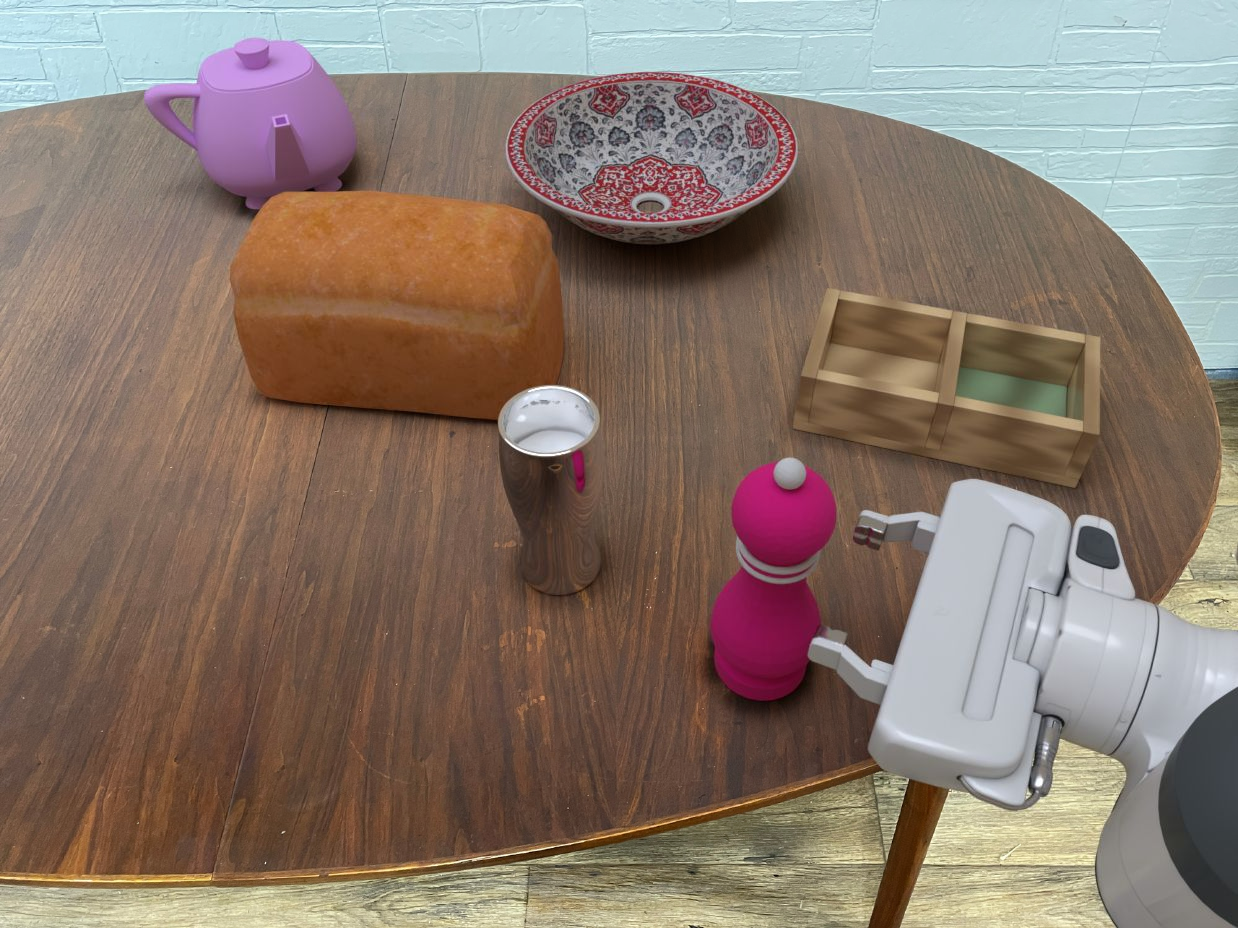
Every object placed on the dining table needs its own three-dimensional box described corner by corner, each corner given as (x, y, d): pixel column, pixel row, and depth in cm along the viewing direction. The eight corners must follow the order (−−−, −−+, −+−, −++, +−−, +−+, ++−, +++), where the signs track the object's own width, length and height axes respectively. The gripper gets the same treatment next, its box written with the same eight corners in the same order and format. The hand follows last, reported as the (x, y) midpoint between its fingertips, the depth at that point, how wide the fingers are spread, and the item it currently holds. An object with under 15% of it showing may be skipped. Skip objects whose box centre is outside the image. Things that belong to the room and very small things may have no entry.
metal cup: (619, 538, 79) (617, 394, 68) (589, 611, 75) (582, 468, 64) (533, 518, 81) (518, 373, 70) (499, 587, 76) (477, 444, 65)
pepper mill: (806, 618, 74) (849, 417, 59) (818, 709, 69) (867, 513, 54) (705, 617, 74) (722, 416, 59) (709, 707, 69) (728, 512, 55)
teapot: (197, 261, 104) (145, 122, 93) (170, 164, 117) (122, 32, 106) (388, 214, 109) (361, 78, 98) (343, 127, 122) (315, -3, 111)
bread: (544, 433, 87) (530, 280, 75) (245, 405, 90) (188, 252, 78) (572, 329, 96) (564, 178, 85) (301, 305, 99) (257, 156, 87)
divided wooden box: (1078, 390, 90) (1100, 336, 85) (1075, 488, 82) (1100, 434, 78) (818, 340, 95) (826, 287, 90) (792, 428, 87) (800, 375, 83)
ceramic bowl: (483, 281, 101) (474, 211, 95) (541, 130, 121) (536, 64, 115) (784, 306, 98) (794, 234, 92) (793, 146, 118) (802, 79, 112)
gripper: (1027, 848, 54) (775, 750, 58) (1080, 564, 67) (870, 499, 71) (1063, 794, 50) (787, 691, 54) (1113, 500, 63) (886, 434, 67)
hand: (835, 580), depth 63 cm, fingers open, 8 cm apart
